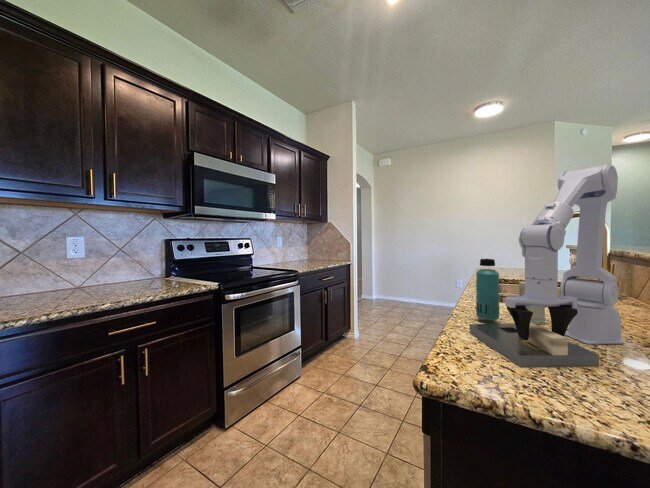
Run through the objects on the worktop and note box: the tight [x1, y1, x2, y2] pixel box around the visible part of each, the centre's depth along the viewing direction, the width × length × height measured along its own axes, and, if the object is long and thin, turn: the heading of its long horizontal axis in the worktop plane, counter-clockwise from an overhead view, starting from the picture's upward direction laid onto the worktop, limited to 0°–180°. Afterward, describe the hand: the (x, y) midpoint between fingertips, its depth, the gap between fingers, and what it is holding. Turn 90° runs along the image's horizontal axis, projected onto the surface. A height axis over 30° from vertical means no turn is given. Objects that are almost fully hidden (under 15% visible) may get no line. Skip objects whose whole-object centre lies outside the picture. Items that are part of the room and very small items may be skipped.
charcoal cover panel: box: [469, 323, 600, 368], centre depth 65 cm, size 16×20×3 cm
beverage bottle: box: [475, 258, 500, 321], centre depth 84 cm, size 6×7×20 cm
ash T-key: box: [518, 323, 569, 355], centre depth 60 cm, size 10×3×6 cm, turn 179°
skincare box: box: [518, 281, 546, 326], centre depth 84 cm, size 6×4×12 cm
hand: (540, 338), depth 60 cm, fingers open, 7 cm apart
